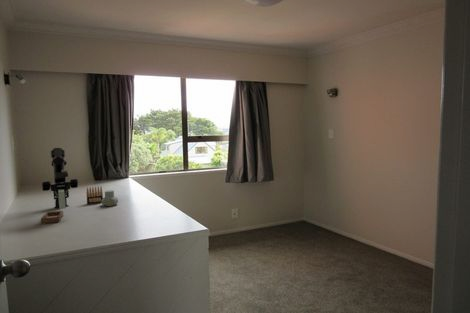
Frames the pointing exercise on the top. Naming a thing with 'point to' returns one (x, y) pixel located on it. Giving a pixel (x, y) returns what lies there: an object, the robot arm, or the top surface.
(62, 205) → the pale green rectangular block
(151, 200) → the top surface
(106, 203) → the air freshener
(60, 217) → the brown wooden tray
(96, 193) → the ammunition clip
